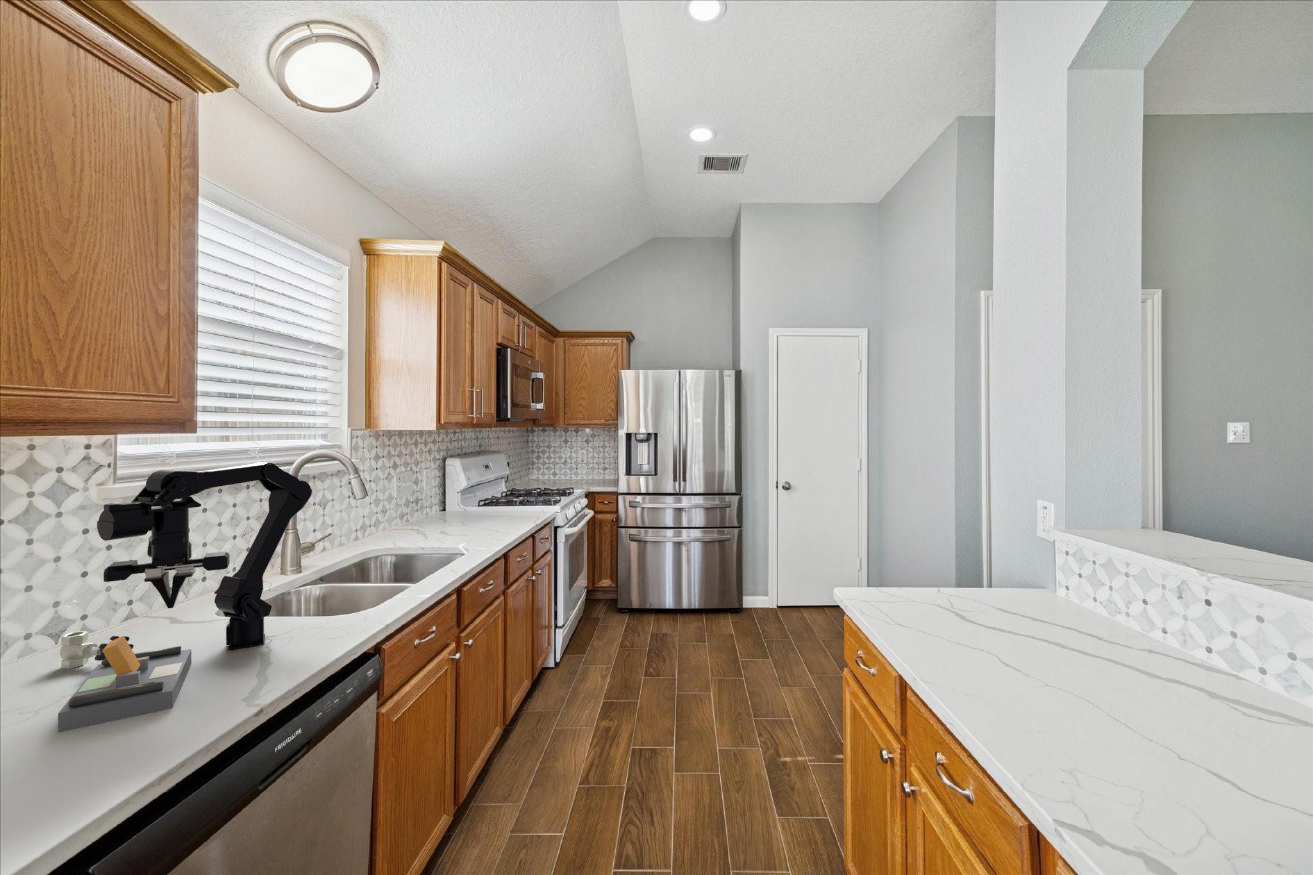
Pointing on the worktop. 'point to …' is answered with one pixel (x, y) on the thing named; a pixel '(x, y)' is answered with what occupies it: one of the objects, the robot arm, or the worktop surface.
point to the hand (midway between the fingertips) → (171, 607)
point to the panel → (127, 689)
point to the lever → (121, 656)
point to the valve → (81, 649)
